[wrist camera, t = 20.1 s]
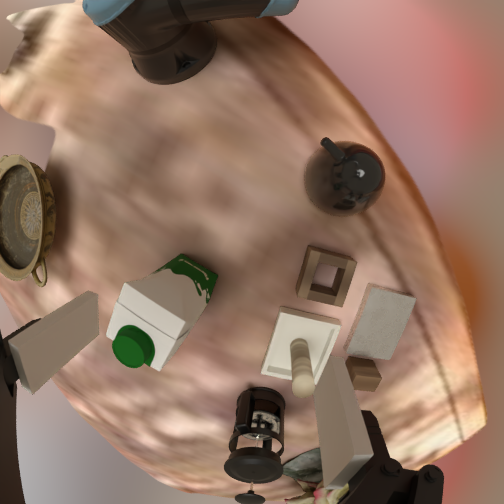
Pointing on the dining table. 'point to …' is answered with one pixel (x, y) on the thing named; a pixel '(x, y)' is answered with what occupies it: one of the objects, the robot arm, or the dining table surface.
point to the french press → (256, 428)
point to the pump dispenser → (344, 178)
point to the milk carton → (159, 312)
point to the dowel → (301, 369)
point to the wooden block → (363, 374)
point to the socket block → (341, 280)
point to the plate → (379, 322)
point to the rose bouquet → (311, 480)
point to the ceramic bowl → (25, 218)
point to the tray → (308, 328)
